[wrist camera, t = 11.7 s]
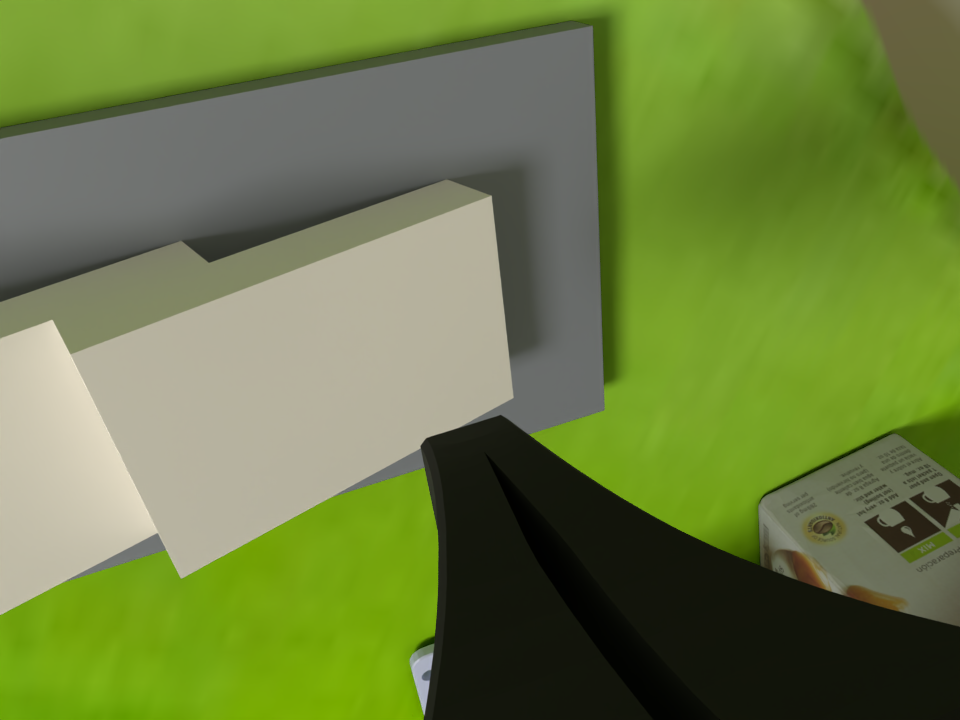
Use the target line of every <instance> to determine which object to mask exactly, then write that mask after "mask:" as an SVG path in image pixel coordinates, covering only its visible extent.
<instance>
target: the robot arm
mask: <svg viewBox="0 0 960 720" xmlns="http://www.w3.org/2000/svg"><path fill="white" fill-rule="evenodd" d="M420 447H421V452H422V457H423V462H424V467H425V471H426V476H427V481H428V486H429V491H430V496H431V500H432V505H433V510H434V515H435V520H436V524H437V529H438V542H439V562H438V603H437V619H436V630H435V642H434V644H431V645H428V646H426V647H423V648H421V649H419V650H417V651H416V652H415V653H414V654H413V655H412V656H411V658H410V666H411V669H412V673H413V677H414V680H415V684H416V688H417V691H418V695H419V699H420V702H421V706H422V709H423V713H424V720H960V627H959V626H955V625H951V624H947V623H943V622H939V621H935V620H931V619H927V618H923V617H919V616H915V615H911V614H907V613H903V612H899V611H895V610H891V609H887V608H884V607H880V606H877V605H873V604H870V603H867V602H864V601H860V600H857V599H854V598H851V597H848V596H844V595H841V594H838V593H835V592H831V591H828V590H825V589H822V588H819V587H816V586H813V585H810V584H808V583H805V582H802V581H799V580H796V579H793V578H790V577H788V576H785V575H783V574H780V573H778V572H775V571H772V570H770V569H767V568H765V567H762V566H759V565H757V564H754V563H752V562H749V561H746V560H744V559H741V558H739V557H737V556H734V555H732V554H730V553H727V552H725V551H723V550H720V549H718V548H716V547H713V546H711V545H709V544H707V543H705V542H703V541H701V540H699V539H697V538H695V537H692V536H690V535H688V534H686V533H684V532H682V531H680V530H678V529H676V528H674V527H672V526H670V525H668V524H667V523H665V522H663V521H661V520H659V519H657V518H655V517H654V516H652V515H650V514H648V513H647V512H645V511H643V510H641V509H640V508H638V507H636V506H634V505H633V504H631V503H629V502H628V501H626V500H624V499H622V498H621V497H619V496H618V495H616V494H614V493H613V492H611V491H609V490H608V489H606V488H605V487H603V486H602V485H600V484H599V483H597V482H596V481H594V480H592V479H591V478H589V477H588V476H586V475H585V474H583V473H582V472H580V471H579V470H577V469H576V468H574V467H573V466H571V465H570V464H568V463H567V462H566V461H564V460H563V459H561V458H560V457H558V456H557V455H556V454H554V453H553V452H551V451H550V450H549V449H547V448H546V447H545V446H543V445H542V444H540V443H539V442H538V441H536V440H535V439H534V438H532V437H531V436H530V435H528V434H527V433H526V432H524V431H523V430H522V429H521V428H519V427H518V426H517V425H515V424H514V423H513V422H511V421H510V420H509V419H507V418H505V417H504V416H502V415H499V416H496V417H492V418H489V419H486V420H483V421H479V422H476V423H473V424H470V425H466V426H463V427H460V428H457V429H453V430H450V431H447V432H444V433H441V434H437V435H434V436H431V437H428V438H426V439H425V440H424V442H423V443H422V444H421V446H420Z"/></svg>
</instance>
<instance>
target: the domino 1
mask: <svg viewBox="0 0 960 720" xmlns="http://www.w3.org/2000/svg"><path fill="white" fill-rule="evenodd" d="M207 263H208V262H207V261H206V260H205V259H203V258H202V257H201V256H200V255H198V254H197V253H196V252H195V251H193V250H192V249H191V248H190V247H188V246H187V245H186V244H185V243H184V242H182V241H179V242H176V243H173V244H170V245H167V246H164V247H161V248H158V249H155V250H152V251H150V252H147V253H144V254H141V255H138V256H135V257H132V258H129V259H126V260H123V261H120V262H117V263H114V264H111V265H108V266H105V267H102V268H99V269H96V270H94V271H91V272H88V273H85V274H82V275H79V276H76V277H73V278H70V279H67V280H64V281H61V282H58V283H55V284H52V285H49V286H46V287H43V288H40V289H37V290H35V291H32V292H29V293H26V294H23V295H20V296H17V297H14V298H11V299H8V300H5V301H2V302H0V615H1V614H3V613H5V612H7V611H9V610H11V609H12V608H14V607H16V606H18V605H20V604H22V603H24V602H26V601H28V600H30V599H32V598H34V597H35V596H37V595H39V594H41V593H43V592H45V591H47V590H49V589H51V588H53V587H55V586H57V585H59V584H60V583H62V582H64V581H66V580H68V579H70V578H72V577H74V576H76V575H78V574H80V573H82V572H84V571H85V570H87V569H89V568H91V567H93V566H95V565H97V564H99V563H101V562H103V561H105V560H107V559H108V558H110V557H112V556H114V555H116V554H118V553H120V552H122V551H124V550H126V549H128V548H130V547H132V546H133V545H135V544H137V543H139V542H141V541H143V540H145V539H147V538H149V537H151V536H153V535H155V534H156V533H158V532H157V530H156V528H155V526H154V524H153V522H152V520H151V518H150V516H149V514H148V512H147V510H146V508H145V506H144V504H143V502H142V500H141V498H140V496H139V494H138V492H137V490H136V488H135V486H134V484H133V482H132V480H131V478H130V476H129V474H128V472H127V470H126V468H125V466H124V464H123V462H122V460H121V458H120V456H119V454H118V451H117V449H116V447H115V445H114V443H113V441H112V439H111V437H110V435H109V433H108V431H107V429H106V427H105V425H104V423H103V421H102V419H101V417H100V415H99V413H98V411H97V409H96V407H95V405H94V403H93V401H92V399H91V397H90V395H89V393H88V391H87V389H86V387H85V385H84V383H83V381H82V379H81V377H80V375H79V373H78V371H77V369H76V367H75V365H74V363H73V360H72V358H71V356H70V354H69V352H68V350H67V348H66V346H65V344H64V342H63V340H62V338H61V336H60V334H59V332H58V330H57V328H56V326H55V324H54V322H53V320H52V318H54V317H57V316H60V315H63V314H65V313H68V312H71V311H74V310H77V309H80V308H83V307H85V306H88V305H91V304H94V303H97V302H100V301H102V300H105V299H108V298H111V297H114V296H117V295H119V294H122V293H125V292H128V291H131V290H134V289H136V288H139V287H142V286H145V285H148V284H151V283H154V282H156V281H159V280H162V279H165V278H168V277H171V276H173V275H176V274H179V273H182V272H185V271H188V270H190V269H193V268H196V267H199V266H202V265H205V264H207Z"/></svg>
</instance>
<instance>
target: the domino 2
mask: <svg viewBox="0 0 960 720" xmlns="http://www.w3.org/2000/svg"><path fill="white" fill-rule="evenodd" d="M52 320H53V322H54V324H55V326H56V328H57V330H58V332H59V334H60V336H61V338H62V340H63V342H64V344H65V346H66V348H67V350H68V352H69V354H70V356H71V358H72V360H73V363H74V365H75V367H76V369H77V371H78V373H79V375H80V377H81V379H82V381H83V383H84V385H85V387H86V389H87V391H88V393H89V395H90V397H91V399H92V401H93V403H94V405H95V407H96V409H97V411H98V413H99V415H100V417H101V419H102V421H103V423H104V425H105V427H106V429H107V431H108V433H109V435H110V437H111V439H112V441H113V443H114V445H115V447H116V449H117V451H118V454H119V456H120V458H121V460H122V462H123V464H124V466H125V468H126V470H127V472H128V474H129V476H130V478H131V480H132V482H133V484H134V486H135V488H136V490H137V492H138V494H139V496H140V498H141V500H142V502H143V504H144V506H145V508H146V510H147V512H148V514H149V516H150V518H151V520H152V522H153V524H154V526H155V528H156V530H157V532H158V534H159V536H160V538H161V540H162V542H163V544H164V546H165V548H166V550H167V552H168V554H169V556H170V558H171V560H172V562H173V564H174V566H175V568H176V570H177V572H178V573H179V575H180V577H181V578H183V577H185V576H187V575H189V574H191V573H192V572H194V571H196V570H198V569H200V568H202V567H203V566H205V565H207V564H209V563H211V562H213V561H214V560H216V559H218V558H220V557H222V556H224V555H225V554H227V553H229V552H231V551H233V550H235V549H237V548H238V547H240V546H242V545H244V544H246V543H248V542H249V541H251V540H253V539H255V538H257V537H259V536H260V535H262V534H264V533H266V532H268V531H270V530H271V529H273V528H275V527H277V526H279V525H281V524H282V523H284V522H286V521H288V520H290V519H292V518H294V517H295V516H297V515H299V514H301V513H303V512H305V511H306V510H308V509H310V508H312V507H314V506H316V505H317V504H319V503H321V502H323V501H325V500H327V499H328V498H330V497H332V496H334V495H336V494H338V493H340V492H341V491H343V490H345V489H347V488H349V487H351V486H352V485H354V484H356V483H358V482H360V481H362V480H363V479H365V478H367V477H369V476H371V475H373V474H374V473H376V472H378V471H380V470H382V469H384V468H386V467H387V466H389V465H391V464H393V463H395V462H397V461H398V460H400V459H402V458H404V457H406V456H408V455H409V454H411V453H413V452H415V451H417V450H419V449H420V448H421V447H420V446H421V444H422V443H423V442H424V440H425V439H426V438H428V437H431V436H434V435H437V434H441V433H444V432H447V431H450V430H453V429H457V428H459V427H461V426H463V425H465V424H466V423H468V422H470V421H472V420H474V419H476V418H477V417H479V416H481V415H483V414H485V413H487V412H489V411H490V410H492V409H494V408H496V407H498V406H500V405H501V404H503V403H505V402H507V401H509V400H511V399H512V398H514V397H513V388H512V378H511V369H510V360H509V351H508V342H507V333H506V323H505V314H504V305H503V296H502V287H501V278H500V268H499V259H498V250H497V241H496V232H495V223H494V213H493V204H492V196H491V195H488V194H486V193H483V192H480V191H477V190H475V189H472V188H469V187H466V186H464V185H461V184H458V183H456V182H453V181H450V180H447V179H446V180H443V181H440V182H438V183H435V184H432V185H429V186H426V187H423V188H421V189H418V190H415V191H412V192H409V193H406V194H403V195H401V196H398V197H395V198H392V199H389V200H386V201H384V202H381V203H378V204H375V205H372V206H369V207H367V208H364V209H361V210H358V211H355V212H352V213H349V214H347V215H344V216H341V217H338V218H335V219H332V220H330V221H327V222H324V223H321V224H318V225H315V226H313V227H310V228H307V229H304V230H301V231H298V232H296V233H293V234H290V235H287V236H284V237H281V238H278V239H276V240H273V241H270V242H267V243H264V244H261V245H259V246H256V247H253V248H250V249H247V250H244V251H242V252H239V253H236V254H233V255H230V256H227V257H225V258H222V259H219V260H216V261H213V262H210V263H207V264H205V265H202V266H199V267H196V268H193V269H190V270H188V271H185V272H182V273H179V274H176V275H173V276H171V277H168V278H165V279H162V280H159V281H156V282H154V283H151V284H148V285H145V286H142V287H139V288H136V289H134V290H131V291H128V292H125V293H122V294H119V295H117V296H114V297H111V298H108V299H105V300H102V301H100V302H97V303H94V304H91V305H88V306H85V307H83V308H80V309H77V310H74V311H71V312H68V313H65V314H63V315H60V316H57V317H54V318H52Z"/></svg>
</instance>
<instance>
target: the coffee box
mask: <svg viewBox="0 0 960 720" xmlns="http://www.w3.org/2000/svg"><path fill="white" fill-rule="evenodd" d="M759 540H760V566H762V567H765V568H767V569H770V570H772V571H775V572H778V573H780V574H783V575H785V576H788V577H790V578H793V579H796V580H799V581H802V582H805V583H808V584H810V585H813V586H816V587H819V588H822V589H825V590H828V591H831V592H835V593H838V594H841V595H844V596H848V597H851V598H854V599H857V600H860V601H864V602H867V603H870V604H873V605H877V606H880V607H884V608H887V609H891V610H895V611H899V612H903V613H907V614H911V615H915V616H919V617H923V618H927V619H931V620H935V621H939V622H943V623H947V624H951V625H955V626H959V627H960V479H958V478H957V477H956V476H954V475H953V474H952V473H950V472H949V471H947V470H946V469H945V468H943V467H942V466H941V465H939V464H938V463H937V462H935V461H934V460H932V459H931V458H930V457H928V456H927V455H926V454H924V453H923V452H921V451H920V450H919V449H917V448H916V447H914V446H913V445H912V444H910V443H909V442H908V441H907V440H905V439H904V438H902V437H901V436H900V435H897V434H891V435H889V436H887V437H885V438H883V439H881V440H879V441H877V442H875V443H872V444H870V445H868V446H866V447H864V448H862V449H860V450H858V451H856V452H854V453H852V454H850V455H848V456H846V457H844V458H842V459H840V460H838V461H836V462H834V463H832V464H830V465H828V466H826V467H824V468H821V469H819V470H817V471H815V472H813V473H811V474H809V475H807V476H805V477H803V478H801V479H799V480H797V481H795V482H793V483H791V484H789V485H787V486H785V487H783V488H781V489H779V490H776V491H774V492H772V493H770V494H768V495H766V496H765V497H763V499H762V500H761V502H760V503H759Z"/></svg>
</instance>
